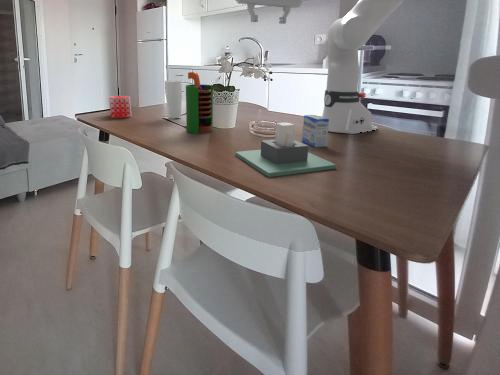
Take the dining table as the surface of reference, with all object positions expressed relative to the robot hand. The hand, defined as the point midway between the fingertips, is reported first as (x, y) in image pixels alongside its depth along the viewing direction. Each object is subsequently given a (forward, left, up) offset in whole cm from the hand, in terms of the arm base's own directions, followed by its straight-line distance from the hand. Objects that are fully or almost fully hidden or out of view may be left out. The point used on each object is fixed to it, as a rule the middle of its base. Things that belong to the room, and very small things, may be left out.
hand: (268, 22), depth 110 cm
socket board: (+7, +25, -35) cm, 44 cm away
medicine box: (-12, +11, -35) cm, 39 cm away
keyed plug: (+7, +25, -34) cm, 43 cm away
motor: (+16, -20, -35) cm, 44 cm away
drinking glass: (+18, -48, -35) cm, 62 cm away
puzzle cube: (+38, -60, -35) cm, 79 cm away
